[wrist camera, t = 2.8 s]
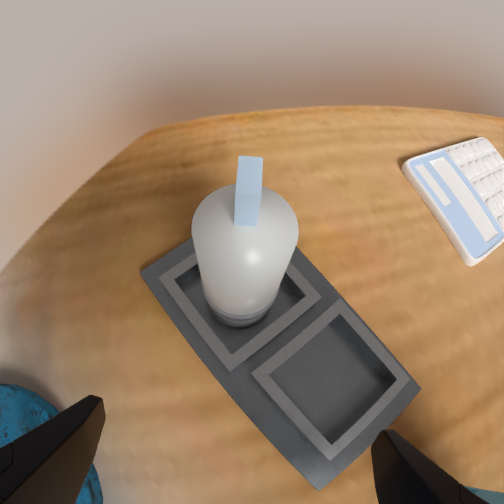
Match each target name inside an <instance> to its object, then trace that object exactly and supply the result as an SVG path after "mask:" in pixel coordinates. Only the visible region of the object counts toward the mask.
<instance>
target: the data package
mask: <svg viewBox="0 0 504 504" xmlns="http://www.w3.org/2000/svg"><path fill="white" fill-rule="evenodd" d="M465 487H466V488H467V489H469V490H470V491H471V492H473V493H474V494H476V495H477V496H479V497H480V498H482V499H483V500H485V501H487V502H488V503H490V504H504V493H500V492H494V491H488V490H483V489H478V488H473V487H468V486H465Z"/></svg>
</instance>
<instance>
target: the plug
mask: <svg viewBox="0 0 504 504" xmlns="http://www.w3.org/2000/svg"><path fill="white" fill-rule="evenodd" d="M262 169H263V157H252V156H239V161H238V171H237V180H236V184H232V185H227V186H224V187H222V188H219V189H217V190H215V191H214V192H212V193H211V194H209V195H208V196H207V197H206V198H205V199H204V200H203V201H202V202H201V203H200V204H199V206H198V208H197V209H196V211H195V214H194V216H193V220H192V228H191V229H192V238H193V242H194V247H195V252H196V256H197V261H198V266H199V270H200V274H201V286H202V290H203V294H204V297H205V300H206V302H207V305H208V307H209V310H210V311H211V313H212V314H213V316H214V317H215V318H216V319H217V320H219V321H220V322H222V323H223V324H225V325H228V326H231V327H248V326H251V325H254V324H256V323H257V322H259V321H260V320H261V319H263V318H264V317H265V315H266V314H267V312H268V311H269V309H270V307H271V306H272V304H273V303H274V301H275V299H276V296H277V294H278V292H279V288H280V283H281V281H282V278H283V276H284V273H285V271H286V269H287V266H288V264H289V261H290V259H291V257H292V254H293V252H294V249H295V247H296V244H297V240H298V233H299V229H298V222H297V218H296V215H295V213H294V211H293V209H292V208H291V206H290V205H289V204H288V202H287V201H286V200H285V199H284V198H283V197H281V196H280V195H279V194H277V193H276V192H274V191H273V190H271V189H269V188H266V187H263V186H262Z"/></svg>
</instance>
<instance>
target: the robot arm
mask: <svg viewBox="0 0 504 504" xmlns="http://www.w3.org/2000/svg"><path fill="white" fill-rule="evenodd" d="M104 423H105V410H104V403H103V399H102V398H101V397H97V396H94V395H88V396H87V397H85V398H84V399H82V400H80V401H79V402H77V403H75V404H74V405H72V406H70V407H69V408H67V409H66V410H64V411H62V412H61V413H59V414H57V415H56V416H54V417H52V418H51V419H49V420H47V421H46V422H44V423H42V424H40V425H39V426H37V427H35V428H34V429H32V430H30V431H29V432H27V433H25V434H23V435H22V436H20V437H18V438H17V439H15V440H13V442H10V443H8V444H6V445H4V446H2V447H1V448H0V504H75V503H76V500H77V498H78V495H79V493H80V491H81V488H82V486H83V483H84V481H85V479H86V476H87V474H88V471H89V469H90V467H91V464H92V462H93V459H94V456H95V453H96V450H97V446H98V443H99V439H100V436H101V432H102V429H103V426H104ZM371 455H372V463H373V472H374V482H375V488H376V493H377V497H378V502H379V504H490V503H488V502H487V501H485V500H483V499H482V498H480V497H479V496H477V495H476V494H474V493H473V492H471V491H470V490H469V489H467V488H466V487H465V486H463V485H462V484H461V483H459V482H458V481H457V480H455V479H454V478H453V477H452V476H450V475H449V474H448V473H446V472H445V471H444V470H443V469H441V468H440V467H439V466H438V465H436V464H435V463H434V462H433V461H431V460H430V459H429V458H428V457H426V456H425V455H424V454H423V453H421V452H420V451H419V450H418V449H416V448H415V447H414V446H413V445H411V444H410V443H409V442H408V441H407V440H405V439H404V438H403V437H402V436H400V435H399V434H398V433H397V432H396V431H394V430H393V429H386V430H381V431H380V433H379V434H378V436H377V438H376V439H375V441H374V442H373V444H372V447H371Z"/></svg>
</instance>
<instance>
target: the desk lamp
mask: <svg viewBox="0 0 504 504" xmlns="http://www.w3.org/2000/svg"><path fill="white" fill-rule="evenodd" d="M57 414H59V412H58V411H57V410H56V409H55V407H54V406H52V405H51V404H49V403H48V402H47V401H45V400H44V399H43V398H41V397H40V396H39V395H37V394H36V393H34V392H32V391H29V390H27V389H25V388H22V387H20V386H17V385H9V384H0V448H1V447H2V446H4V445H6V444H8V443H10V442H13V440H15V439H17V438H18V437H20V436H22V435H23V434H25V433H27V432H29V431H30V430H32V429H34V428H35V427H37V426H39V425H40V424H42V423H44V422H46V421H47V420H49V419H51V418H52V417H54V416H56V415H57ZM75 504H103V496H102V492H101V487H100V483H99V478H98V474H97V472H96V469H95V467H94V465H93V463H92V464H91V467H90V469H89V471H88V474H87V476H86V479H85V481H84V483H83V486H82V488H81V491H80V493H79V495H78V498H77V500H76V503H75Z"/></svg>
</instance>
